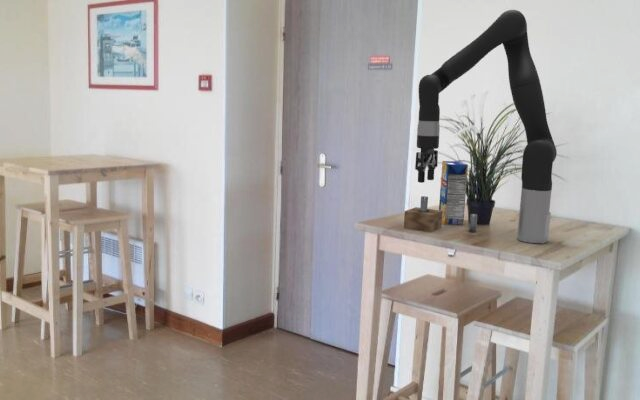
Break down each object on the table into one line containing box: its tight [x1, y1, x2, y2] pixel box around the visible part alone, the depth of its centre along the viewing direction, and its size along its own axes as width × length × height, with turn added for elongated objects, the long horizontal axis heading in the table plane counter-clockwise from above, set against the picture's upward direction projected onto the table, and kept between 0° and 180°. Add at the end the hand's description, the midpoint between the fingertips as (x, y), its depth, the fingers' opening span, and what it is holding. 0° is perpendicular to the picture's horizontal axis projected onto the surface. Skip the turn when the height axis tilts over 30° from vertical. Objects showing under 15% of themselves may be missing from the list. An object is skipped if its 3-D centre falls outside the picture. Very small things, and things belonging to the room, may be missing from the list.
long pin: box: [419, 195, 429, 212], centre depth 217 cm, size 2×2×11 cm
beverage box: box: [438, 160, 469, 226], centre depth 228 cm, size 7×11×22 cm, turn 1°
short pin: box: [468, 213, 478, 233], centre depth 214 cm, size 2×2×6 cm
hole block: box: [403, 206, 443, 233], centre depth 217 cm, size 10×10×6 cm
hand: (425, 181), depth 215 cm, fingers open, 8 cm apart
